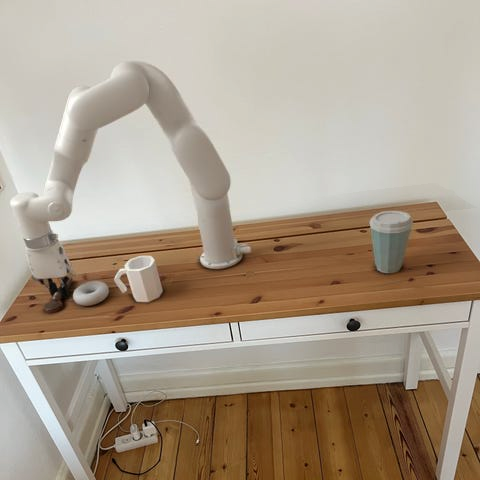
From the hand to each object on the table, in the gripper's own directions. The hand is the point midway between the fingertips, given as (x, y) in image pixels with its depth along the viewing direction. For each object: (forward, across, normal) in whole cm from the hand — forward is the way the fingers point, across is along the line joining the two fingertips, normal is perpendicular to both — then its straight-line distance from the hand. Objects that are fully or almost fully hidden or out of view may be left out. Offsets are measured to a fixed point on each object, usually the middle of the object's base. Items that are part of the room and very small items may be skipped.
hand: (61, 296), depth 154 cm
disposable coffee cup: (0, -92, -3) cm, 92 cm away
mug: (0, -24, +2) cm, 25 cm away
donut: (0, -10, +2) cm, 10 cm away
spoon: (0, 0, +1) cm, 1 cm away
